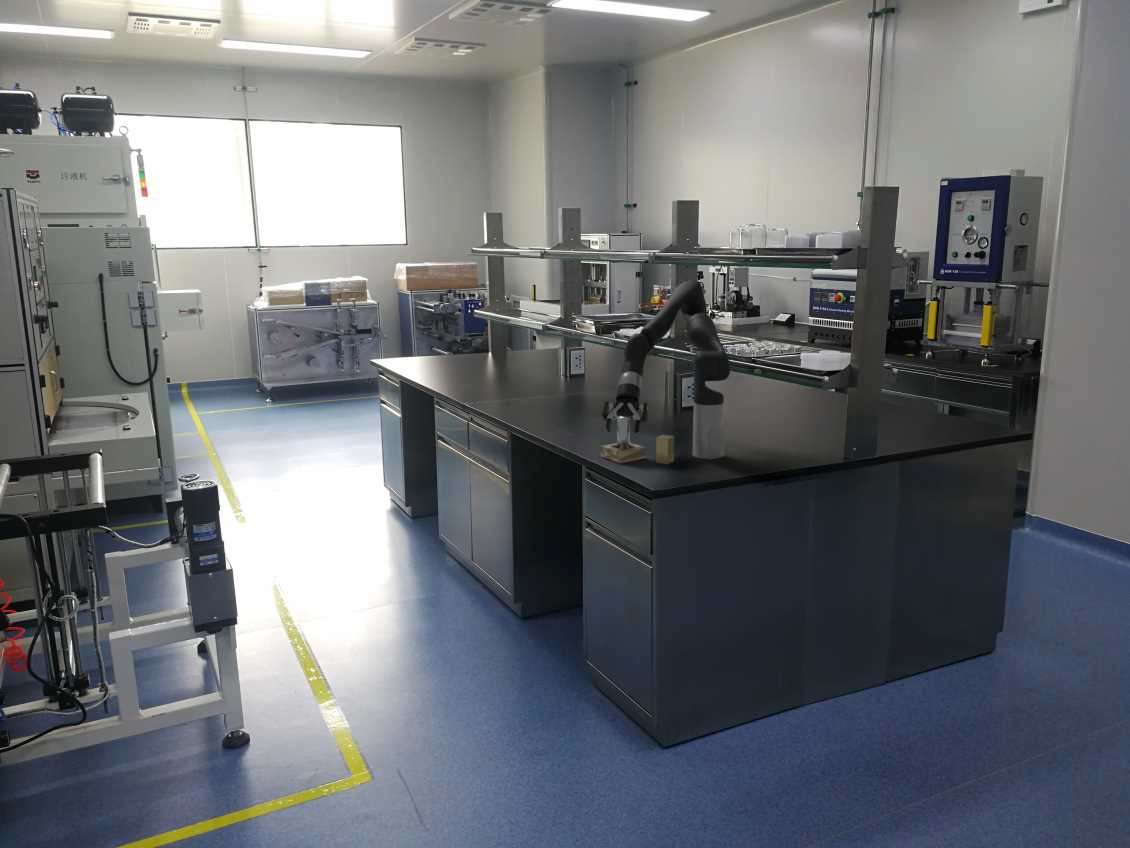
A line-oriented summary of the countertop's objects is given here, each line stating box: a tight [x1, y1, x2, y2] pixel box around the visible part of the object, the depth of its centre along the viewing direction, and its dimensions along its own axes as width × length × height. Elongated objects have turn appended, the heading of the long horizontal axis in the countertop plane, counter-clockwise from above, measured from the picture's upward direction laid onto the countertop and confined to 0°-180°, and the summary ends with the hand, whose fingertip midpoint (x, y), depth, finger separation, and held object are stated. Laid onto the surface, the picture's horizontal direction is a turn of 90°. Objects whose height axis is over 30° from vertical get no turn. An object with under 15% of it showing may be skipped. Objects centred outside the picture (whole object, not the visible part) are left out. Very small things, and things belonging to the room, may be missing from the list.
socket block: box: [600, 442, 646, 464], centre depth 268 cm, size 10×10×4 cm
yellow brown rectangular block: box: [655, 434, 675, 465], centre depth 262 cm, size 4×4×8 cm
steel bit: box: [616, 415, 631, 450], centre depth 267 cm, size 4×4×12 cm
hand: (622, 431), depth 266 cm, fingers open, 8 cm apart
